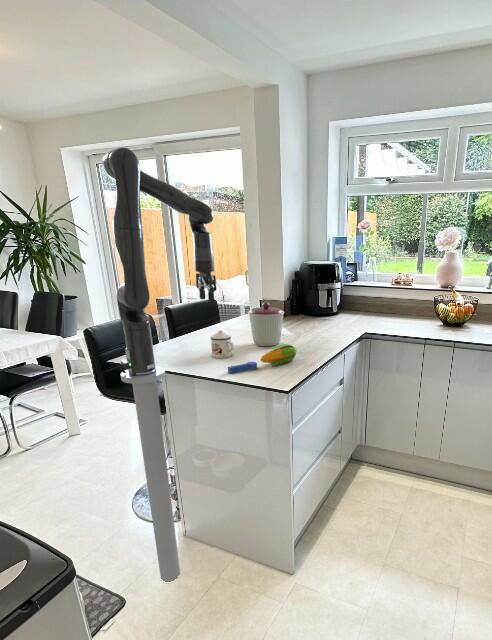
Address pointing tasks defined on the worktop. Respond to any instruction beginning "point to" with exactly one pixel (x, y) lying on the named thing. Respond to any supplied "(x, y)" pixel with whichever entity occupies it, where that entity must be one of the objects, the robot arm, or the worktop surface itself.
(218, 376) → the worktop surface
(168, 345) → the worktop surface
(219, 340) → the teacup with lid
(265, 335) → the canister
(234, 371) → the blue toy block
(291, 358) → the corn
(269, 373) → the worktop surface
